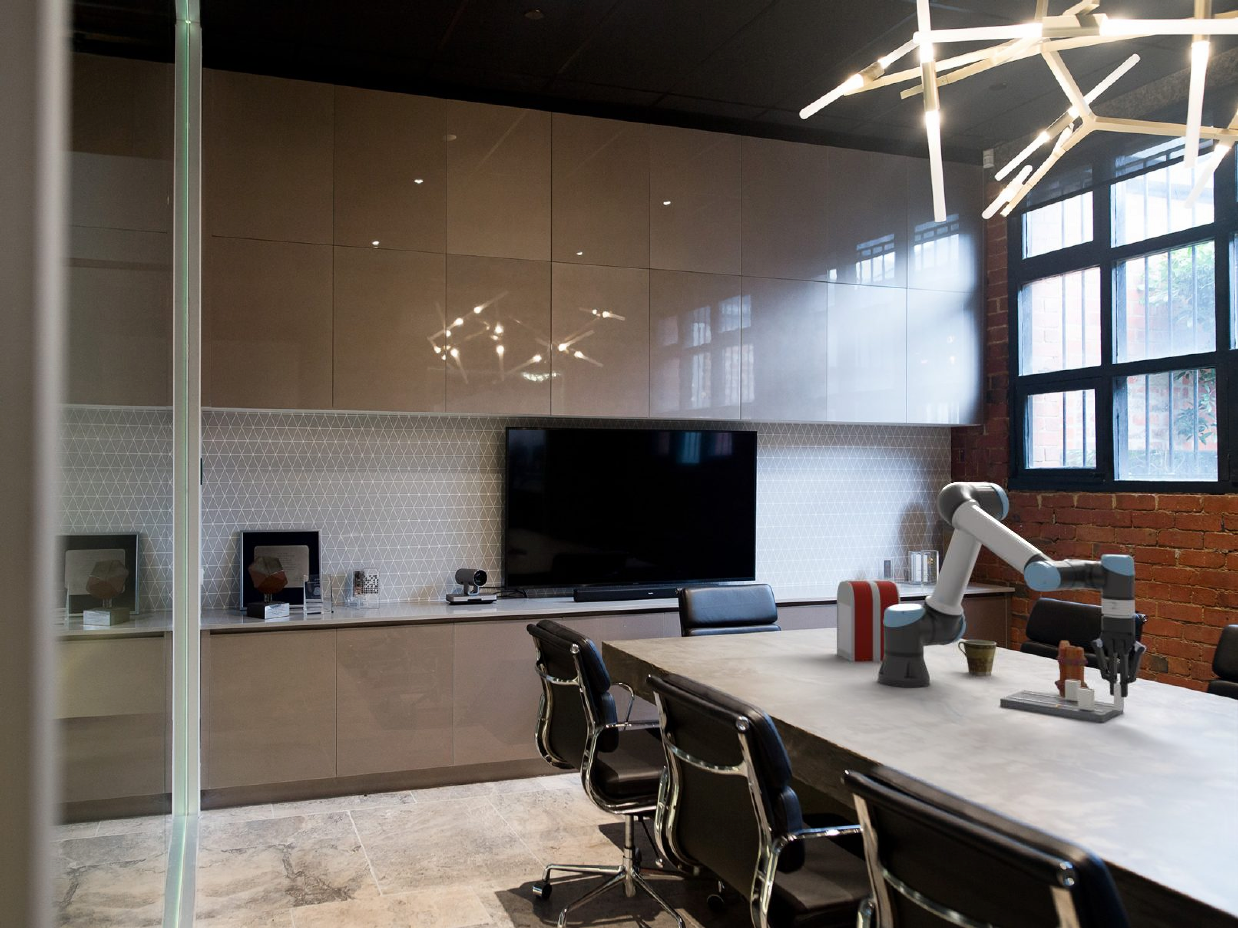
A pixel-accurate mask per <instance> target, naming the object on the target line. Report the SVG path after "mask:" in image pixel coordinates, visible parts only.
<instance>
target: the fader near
mask: <svg viewBox="0 0 1238 928" xmlns="http://www.w3.org/2000/svg"><path fill="white" fill-rule="evenodd" d="M1094 701H1095V688H1090V687H1089V688H1083V687H1080V688H1079V689H1078V708H1079V709H1085V710H1092V709H1094Z"/></svg>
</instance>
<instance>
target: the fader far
mask: <svg viewBox="0 0 1238 928" xmlns="http://www.w3.org/2000/svg"><path fill="white" fill-rule="evenodd" d="M1080 687H1081V681H1079V680H1072V679H1067V680H1065V699H1067V700H1074V701H1078V689H1079V688H1080Z"/></svg>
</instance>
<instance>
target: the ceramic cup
mask: <svg viewBox="0 0 1238 928" xmlns="http://www.w3.org/2000/svg"><path fill="white" fill-rule="evenodd" d="M961 644H963V649H962V648H961ZM957 646H958V647H957V648H958V649H959V651H960V652H961V653H962V654H963V655H964V656H965V657H966V664H967V668H968V673H969V674H970V675H975V676H989V675H990V676H991V675H992V671H993V665H994V659H995V656H996V651H997V642H995V641H991V640H984V639H965V640H963V641H959V642H958V644H957Z"/></svg>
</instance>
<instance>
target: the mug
mask: <svg viewBox="0 0 1238 928" xmlns="http://www.w3.org/2000/svg"><path fill="white" fill-rule="evenodd" d="M1055 660H1056V661H1057V663H1058V670H1059V679H1058V680H1055V681H1054V684H1055V686H1056V688H1057V690H1058V692H1059V696H1065V680H1067V679H1072V680H1079V681H1081V687H1083V688H1090V687H1089V686H1088V684H1087V682H1085V666H1086V665H1088V663H1089V661H1088V660H1087V658H1086V657H1085V649H1084V648H1083V647H1080V646H1077V647H1076V646H1074V645H1071V644H1070V642H1069V640H1060V642H1059V646H1058V656H1056V657H1055Z"/></svg>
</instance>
